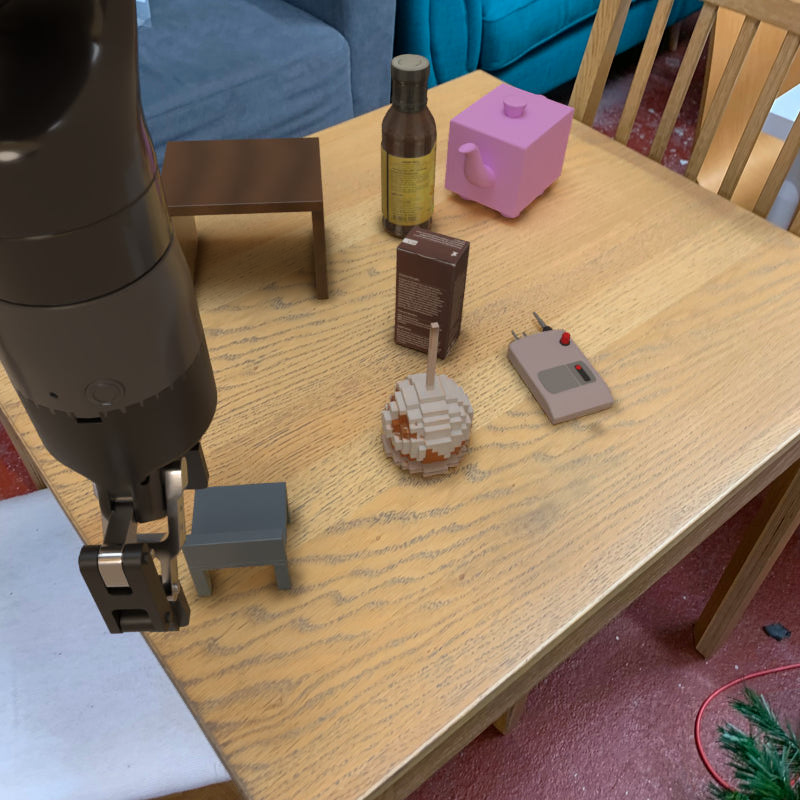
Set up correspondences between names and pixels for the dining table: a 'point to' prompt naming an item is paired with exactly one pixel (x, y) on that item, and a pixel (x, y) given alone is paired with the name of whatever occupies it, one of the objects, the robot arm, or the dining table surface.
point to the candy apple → (427, 419)
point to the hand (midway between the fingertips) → (181, 548)
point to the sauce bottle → (408, 149)
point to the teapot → (507, 148)
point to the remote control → (558, 374)
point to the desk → (244, 186)
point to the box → (430, 289)
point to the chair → (238, 531)
